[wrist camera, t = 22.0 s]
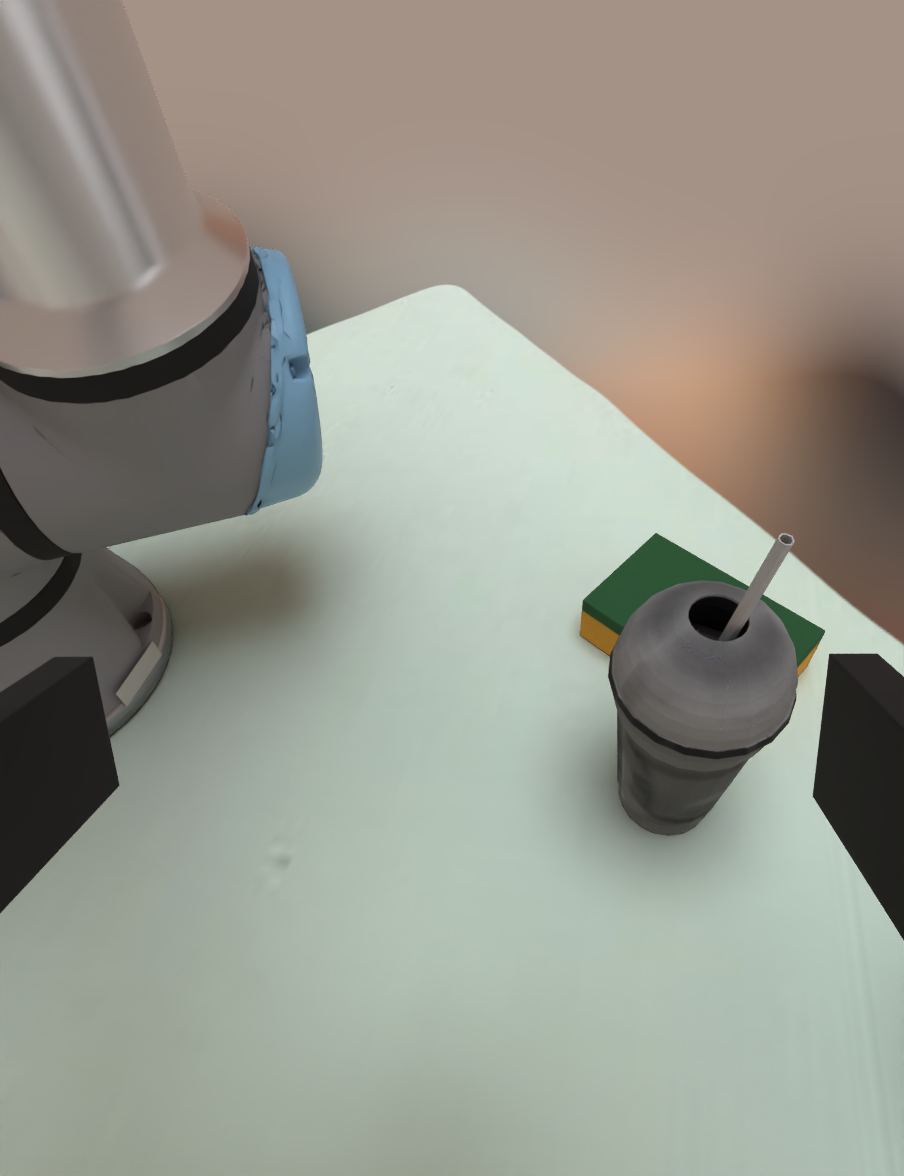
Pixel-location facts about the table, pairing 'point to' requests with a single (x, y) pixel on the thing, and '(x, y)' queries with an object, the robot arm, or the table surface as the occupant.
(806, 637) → the sponge
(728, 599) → the beverage cup
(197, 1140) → the table surface
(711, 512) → the table surface
